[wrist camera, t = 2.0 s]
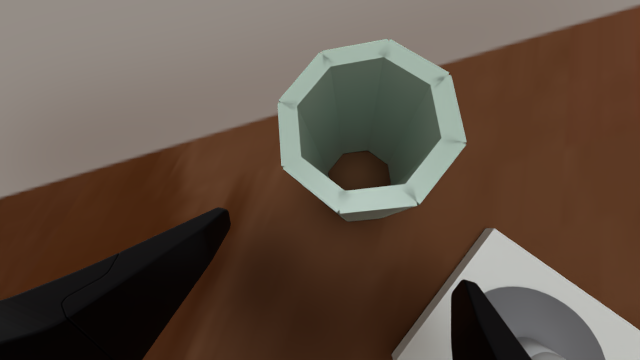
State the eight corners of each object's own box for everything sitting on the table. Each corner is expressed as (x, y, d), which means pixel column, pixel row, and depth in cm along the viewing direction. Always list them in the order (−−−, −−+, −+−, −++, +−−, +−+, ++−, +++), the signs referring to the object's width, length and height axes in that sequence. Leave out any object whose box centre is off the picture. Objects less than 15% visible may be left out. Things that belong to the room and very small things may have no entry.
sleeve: (366, 237, 20) (383, 250, 8) (304, 186, 21) (245, 138, 10) (416, 173, 20) (499, 101, 9) (352, 128, 22) (350, 16, 10)
